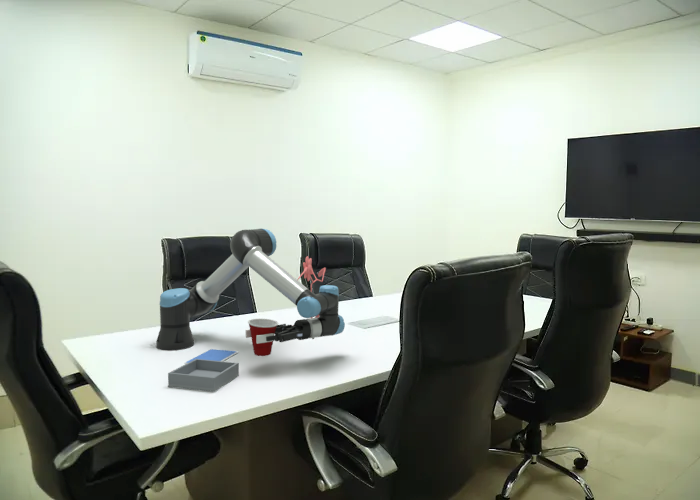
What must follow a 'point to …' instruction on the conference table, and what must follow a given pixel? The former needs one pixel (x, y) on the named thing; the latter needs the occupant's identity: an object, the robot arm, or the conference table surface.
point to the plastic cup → (260, 329)
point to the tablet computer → (215, 355)
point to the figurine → (309, 271)
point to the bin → (203, 375)
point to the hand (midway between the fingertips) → (251, 336)
